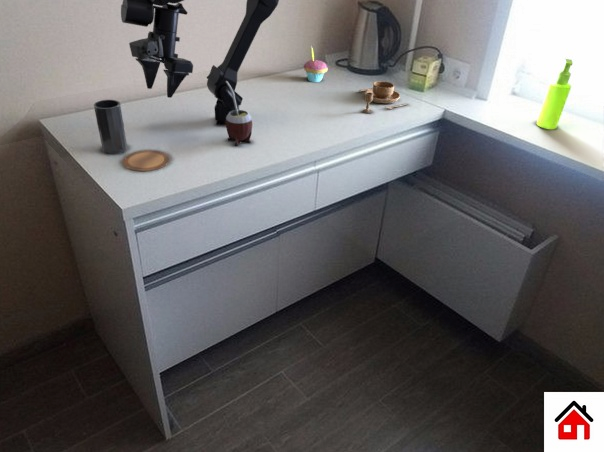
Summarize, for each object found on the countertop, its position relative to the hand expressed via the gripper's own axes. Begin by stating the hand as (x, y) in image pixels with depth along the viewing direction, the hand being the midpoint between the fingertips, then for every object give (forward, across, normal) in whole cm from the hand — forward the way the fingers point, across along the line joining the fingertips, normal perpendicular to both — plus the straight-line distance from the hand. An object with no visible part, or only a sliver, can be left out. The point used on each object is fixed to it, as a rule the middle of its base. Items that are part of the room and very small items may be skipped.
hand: (159, 92), depth 129 cm
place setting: (-5, +21, +69) cm, 72 cm away
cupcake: (-6, -6, +69) cm, 69 cm away
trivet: (+14, +10, -9) cm, 20 cm away
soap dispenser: (-10, +70, +94) cm, 118 cm away
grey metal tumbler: (+15, 0, -11) cm, 19 cm away
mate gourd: (+9, +16, +15) cm, 24 cm away
